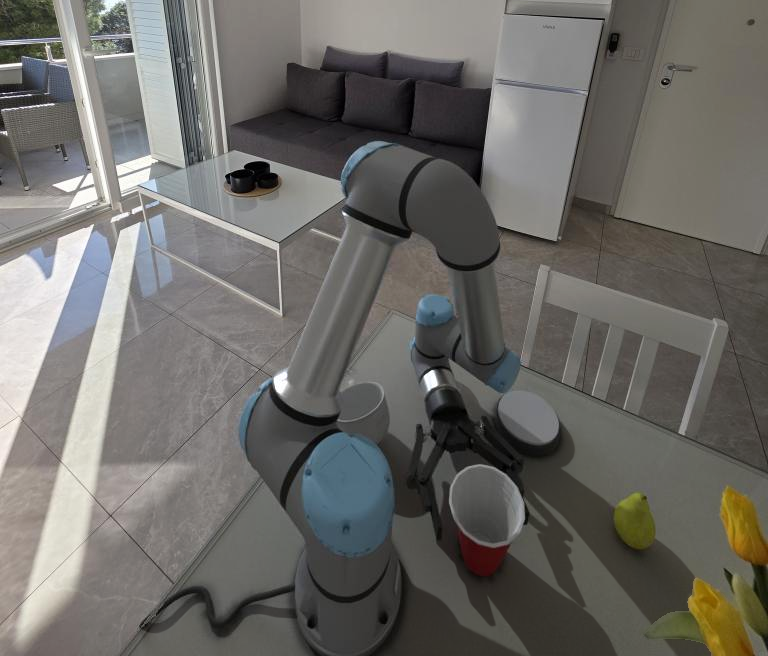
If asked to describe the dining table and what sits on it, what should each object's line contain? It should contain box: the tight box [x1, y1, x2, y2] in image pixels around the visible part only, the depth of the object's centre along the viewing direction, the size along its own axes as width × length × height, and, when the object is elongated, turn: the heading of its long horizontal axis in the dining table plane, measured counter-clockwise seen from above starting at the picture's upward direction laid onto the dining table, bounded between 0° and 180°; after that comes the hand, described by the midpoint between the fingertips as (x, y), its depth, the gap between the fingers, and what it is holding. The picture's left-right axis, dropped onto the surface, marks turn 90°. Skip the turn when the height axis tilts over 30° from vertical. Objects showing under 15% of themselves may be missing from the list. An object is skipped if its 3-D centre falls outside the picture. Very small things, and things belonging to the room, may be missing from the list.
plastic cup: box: [448, 463, 525, 577], centre depth 64 cm, size 11×11×12 cm
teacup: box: [336, 379, 391, 446], centre depth 83 cm, size 14×11×8 cm
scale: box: [494, 389, 562, 457], centre depth 86 cm, size 12×12×3 cm
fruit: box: [613, 492, 656, 550], centre depth 67 cm, size 6×6×12 cm
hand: (483, 526), depth 64 cm, fingers open, 13 cm apart
